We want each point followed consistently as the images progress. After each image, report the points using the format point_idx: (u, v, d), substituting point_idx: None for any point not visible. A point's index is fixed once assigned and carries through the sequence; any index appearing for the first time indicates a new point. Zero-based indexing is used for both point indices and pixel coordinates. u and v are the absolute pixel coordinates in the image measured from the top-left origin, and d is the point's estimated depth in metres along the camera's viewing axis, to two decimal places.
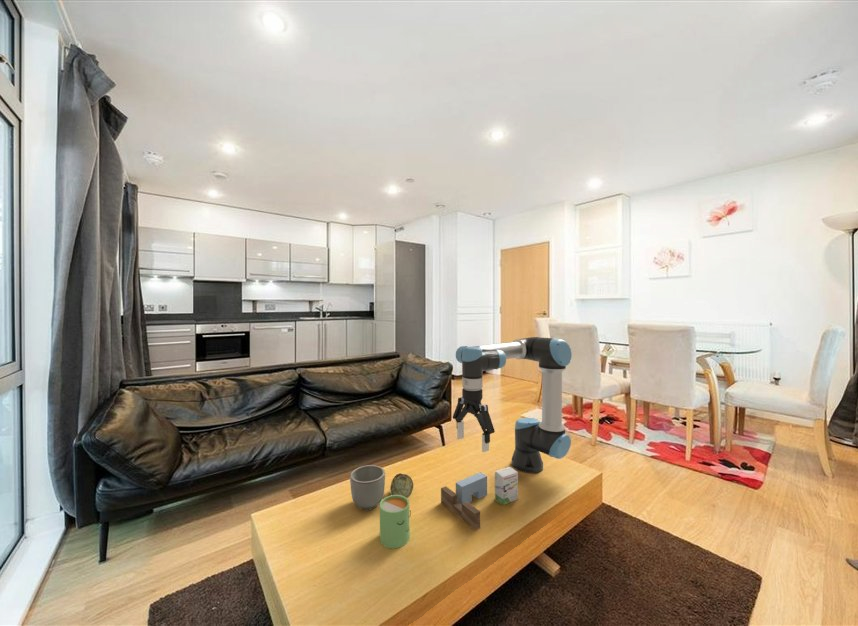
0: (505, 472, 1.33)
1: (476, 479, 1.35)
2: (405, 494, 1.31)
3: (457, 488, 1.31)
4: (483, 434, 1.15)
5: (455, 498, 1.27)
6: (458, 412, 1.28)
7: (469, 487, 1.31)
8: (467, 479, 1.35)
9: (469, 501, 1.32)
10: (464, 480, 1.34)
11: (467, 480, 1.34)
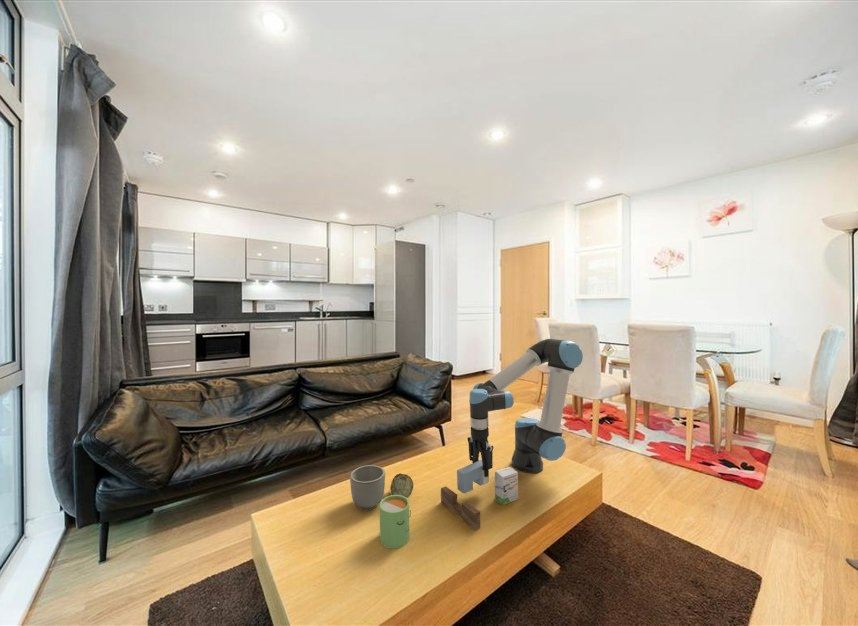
0: (505, 472, 1.33)
1: (477, 466, 1.35)
2: (405, 494, 1.31)
3: (458, 476, 1.32)
4: (482, 469, 1.34)
5: (455, 498, 1.27)
6: (472, 452, 1.41)
7: (470, 474, 1.32)
8: (468, 466, 1.35)
9: (471, 488, 1.32)
10: (465, 468, 1.34)
11: (468, 467, 1.34)
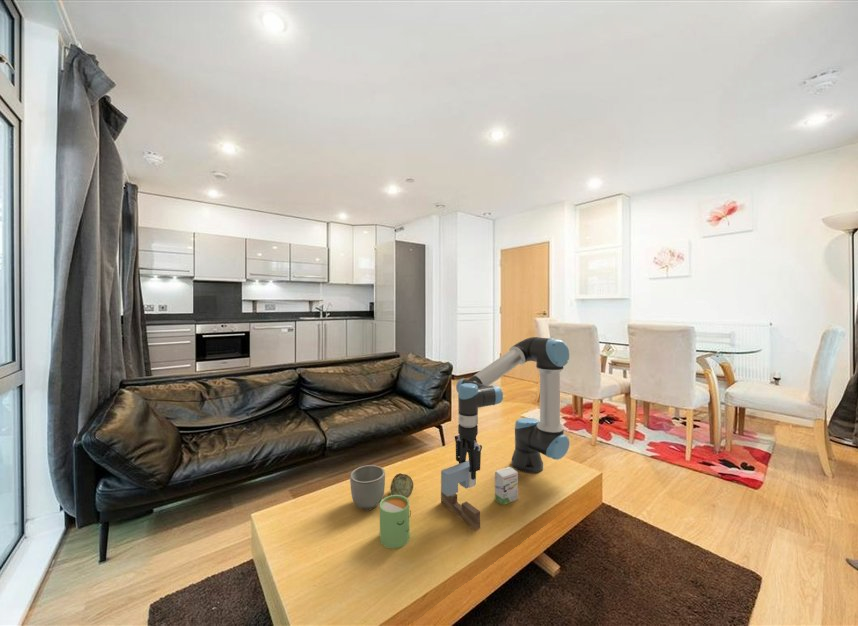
0: (505, 472, 1.33)
1: (464, 467, 1.24)
2: (405, 494, 1.31)
3: (442, 476, 1.21)
4: (469, 471, 1.23)
5: (455, 498, 1.27)
6: (459, 452, 1.30)
7: (456, 475, 1.21)
8: (454, 467, 1.24)
9: (455, 491, 1.21)
10: (450, 468, 1.23)
11: (454, 468, 1.23)
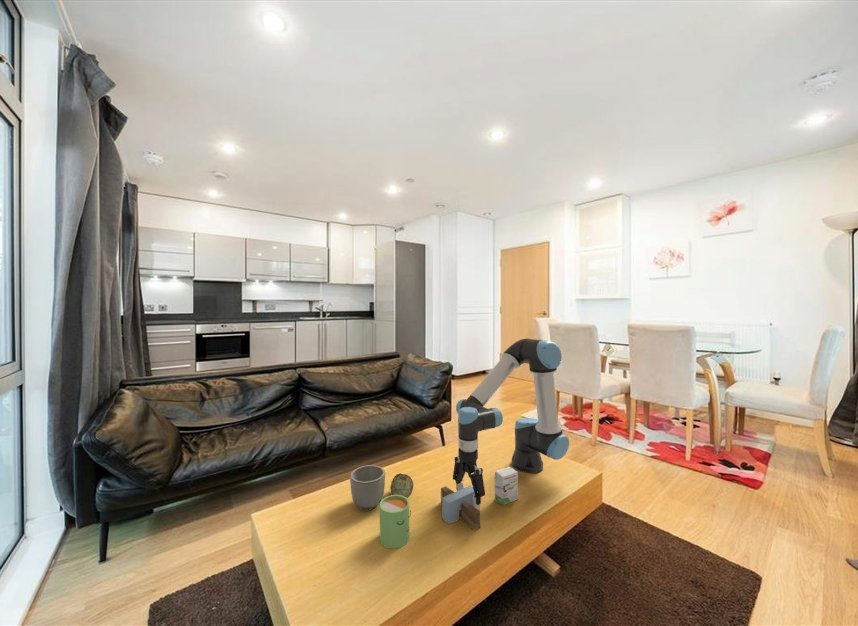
0: (505, 472, 1.33)
1: (464, 494, 1.24)
2: (405, 494, 1.31)
3: (443, 504, 1.21)
4: (474, 496, 1.21)
5: None
6: (457, 472, 1.32)
7: (457, 503, 1.21)
8: (455, 494, 1.24)
9: (457, 518, 1.21)
10: (451, 495, 1.23)
11: (455, 495, 1.24)
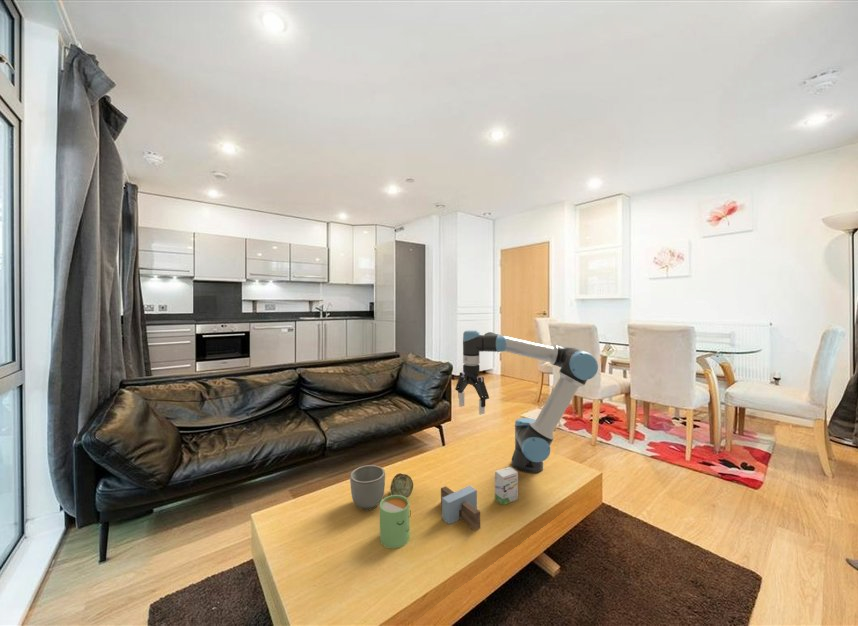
0: (505, 472, 1.33)
1: (464, 494, 1.24)
2: (405, 494, 1.31)
3: (443, 504, 1.21)
4: (480, 400, 1.43)
5: None
6: (460, 384, 1.56)
7: (457, 503, 1.21)
8: (455, 494, 1.24)
9: (457, 518, 1.21)
10: (451, 495, 1.23)
11: (455, 495, 1.24)
